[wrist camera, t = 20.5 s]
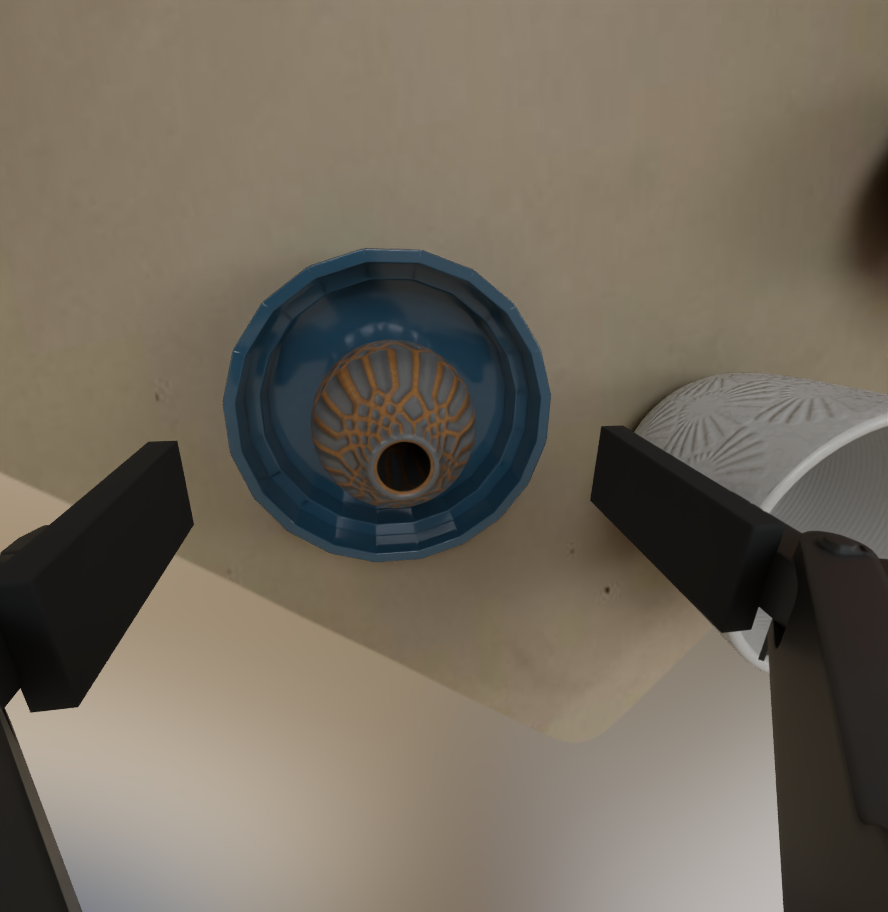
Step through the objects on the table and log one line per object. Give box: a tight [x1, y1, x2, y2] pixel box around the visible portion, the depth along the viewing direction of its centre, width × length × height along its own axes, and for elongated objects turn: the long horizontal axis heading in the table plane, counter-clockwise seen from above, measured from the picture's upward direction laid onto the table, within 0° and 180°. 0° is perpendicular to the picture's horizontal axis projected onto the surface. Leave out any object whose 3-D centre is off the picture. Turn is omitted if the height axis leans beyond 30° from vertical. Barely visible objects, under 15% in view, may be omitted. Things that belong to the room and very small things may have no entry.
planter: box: [634, 372, 888, 674], centre depth 24 cm, size 12×12×11 cm
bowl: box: [223, 248, 551, 562], centre depth 22 cm, size 14×14×4 cm
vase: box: [311, 339, 476, 508], centre depth 20 cm, size 7×7×9 cm
